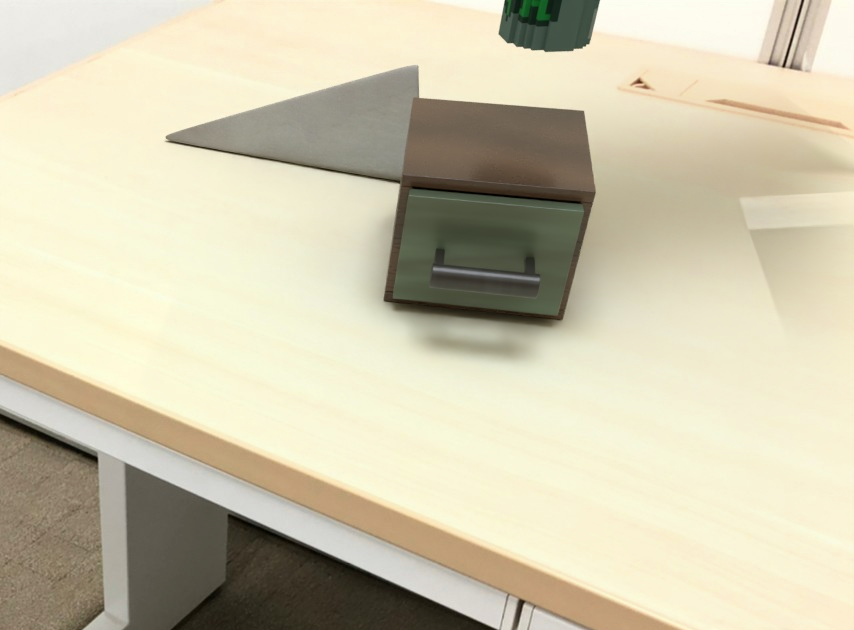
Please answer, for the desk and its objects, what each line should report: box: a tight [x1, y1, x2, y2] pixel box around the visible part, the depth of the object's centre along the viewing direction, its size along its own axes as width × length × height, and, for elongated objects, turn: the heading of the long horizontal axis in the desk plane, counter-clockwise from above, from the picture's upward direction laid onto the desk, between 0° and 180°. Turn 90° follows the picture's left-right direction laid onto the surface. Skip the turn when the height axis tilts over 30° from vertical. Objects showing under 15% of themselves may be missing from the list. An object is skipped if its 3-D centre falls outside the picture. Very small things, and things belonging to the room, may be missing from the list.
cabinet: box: [383, 97, 597, 320], centre depth 92 cm, size 15×13×10 cm
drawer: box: [393, 187, 584, 316], centre depth 89 cm, size 18×11×8 cm, turn 167°
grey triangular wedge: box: [165, 64, 420, 182], centre depth 109 cm, size 10×8×22 cm
